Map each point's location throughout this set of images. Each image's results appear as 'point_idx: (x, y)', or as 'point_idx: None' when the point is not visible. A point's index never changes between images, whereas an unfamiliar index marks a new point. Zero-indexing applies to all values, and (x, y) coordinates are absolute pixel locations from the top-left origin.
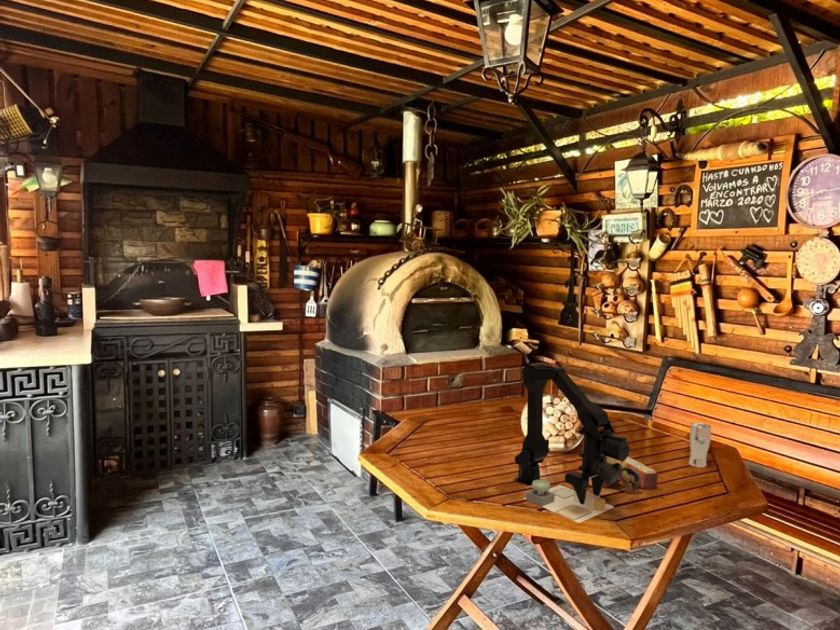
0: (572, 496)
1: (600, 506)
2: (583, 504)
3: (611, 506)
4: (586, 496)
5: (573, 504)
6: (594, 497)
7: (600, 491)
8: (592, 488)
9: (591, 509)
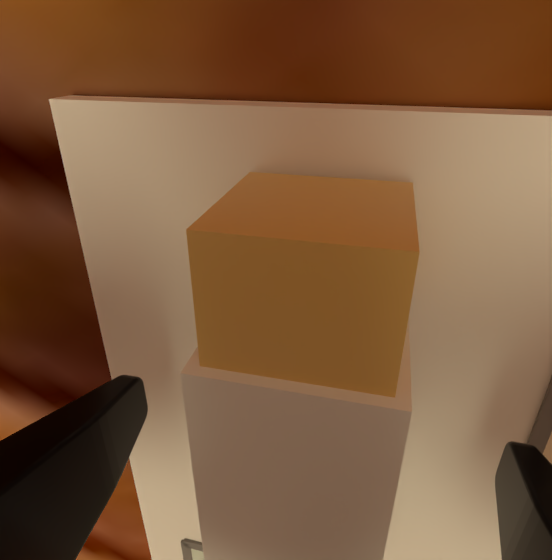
0: None
1: (388, 203)
2: (521, 443)
3: (81, 140)
4: (384, 532)
5: (486, 509)
6: (312, 428)
7: (16, 440)
8: (74, 557)
9: (457, 298)
